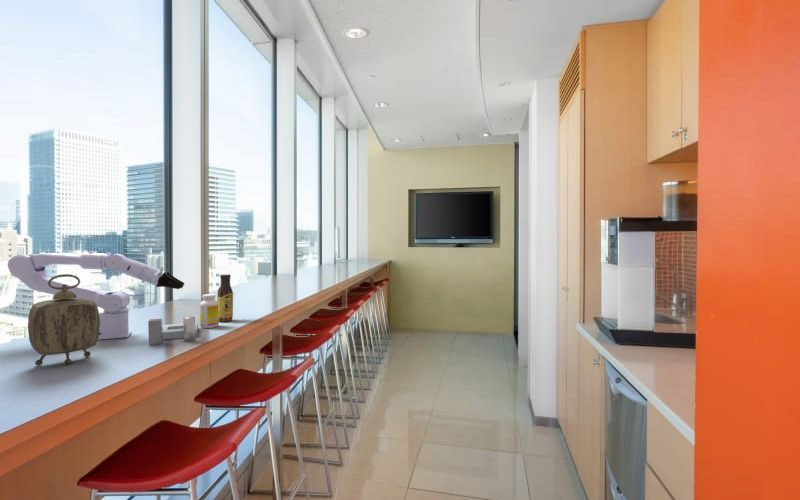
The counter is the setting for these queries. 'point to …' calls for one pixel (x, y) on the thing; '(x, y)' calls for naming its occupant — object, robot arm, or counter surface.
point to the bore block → (175, 331)
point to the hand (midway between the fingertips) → (182, 286)
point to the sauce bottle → (225, 299)
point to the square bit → (155, 331)
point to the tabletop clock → (63, 323)
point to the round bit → (189, 329)
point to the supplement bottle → (209, 311)
